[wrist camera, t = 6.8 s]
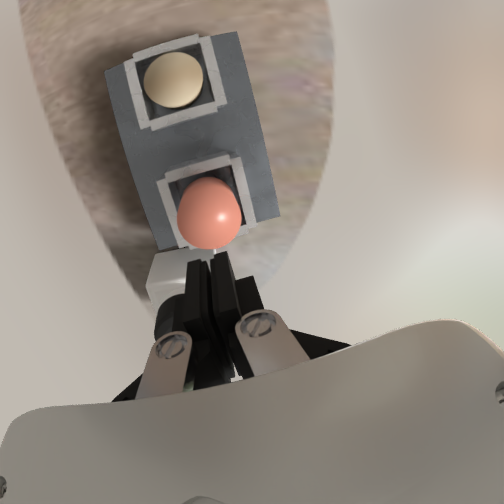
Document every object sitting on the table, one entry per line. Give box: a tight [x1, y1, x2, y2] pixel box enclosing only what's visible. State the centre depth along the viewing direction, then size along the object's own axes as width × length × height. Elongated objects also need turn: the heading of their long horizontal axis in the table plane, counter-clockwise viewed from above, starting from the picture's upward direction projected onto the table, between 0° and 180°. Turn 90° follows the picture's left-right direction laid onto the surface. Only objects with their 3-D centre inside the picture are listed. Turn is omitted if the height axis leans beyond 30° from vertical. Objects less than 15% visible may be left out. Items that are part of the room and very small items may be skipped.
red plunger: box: [177, 177, 241, 249], centre depth 20 cm, size 4×4×4 cm
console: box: [104, 31, 280, 251], centre depth 23 cm, size 18×12×9 cm, turn 13°
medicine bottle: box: [146, 247, 216, 341], centre depth 28 cm, size 7×7×12 cm
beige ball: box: [144, 52, 203, 109], centre depth 18 cm, size 4×4×4 cm
